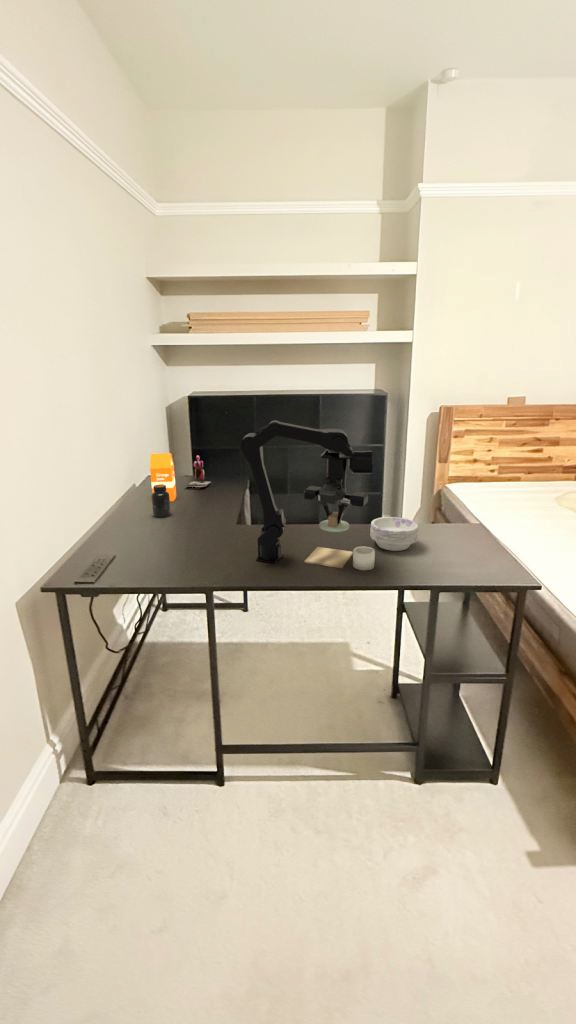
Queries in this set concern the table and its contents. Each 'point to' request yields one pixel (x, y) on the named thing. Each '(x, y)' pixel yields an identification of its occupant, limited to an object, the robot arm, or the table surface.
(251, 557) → the table surface
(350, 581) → the table surface
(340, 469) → the robot arm
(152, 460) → the orange juice
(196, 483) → the statue
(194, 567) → the table surface
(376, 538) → the paper bowls
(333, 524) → the cover
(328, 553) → the mat
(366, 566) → the ramekin
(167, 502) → the supplement bottle
